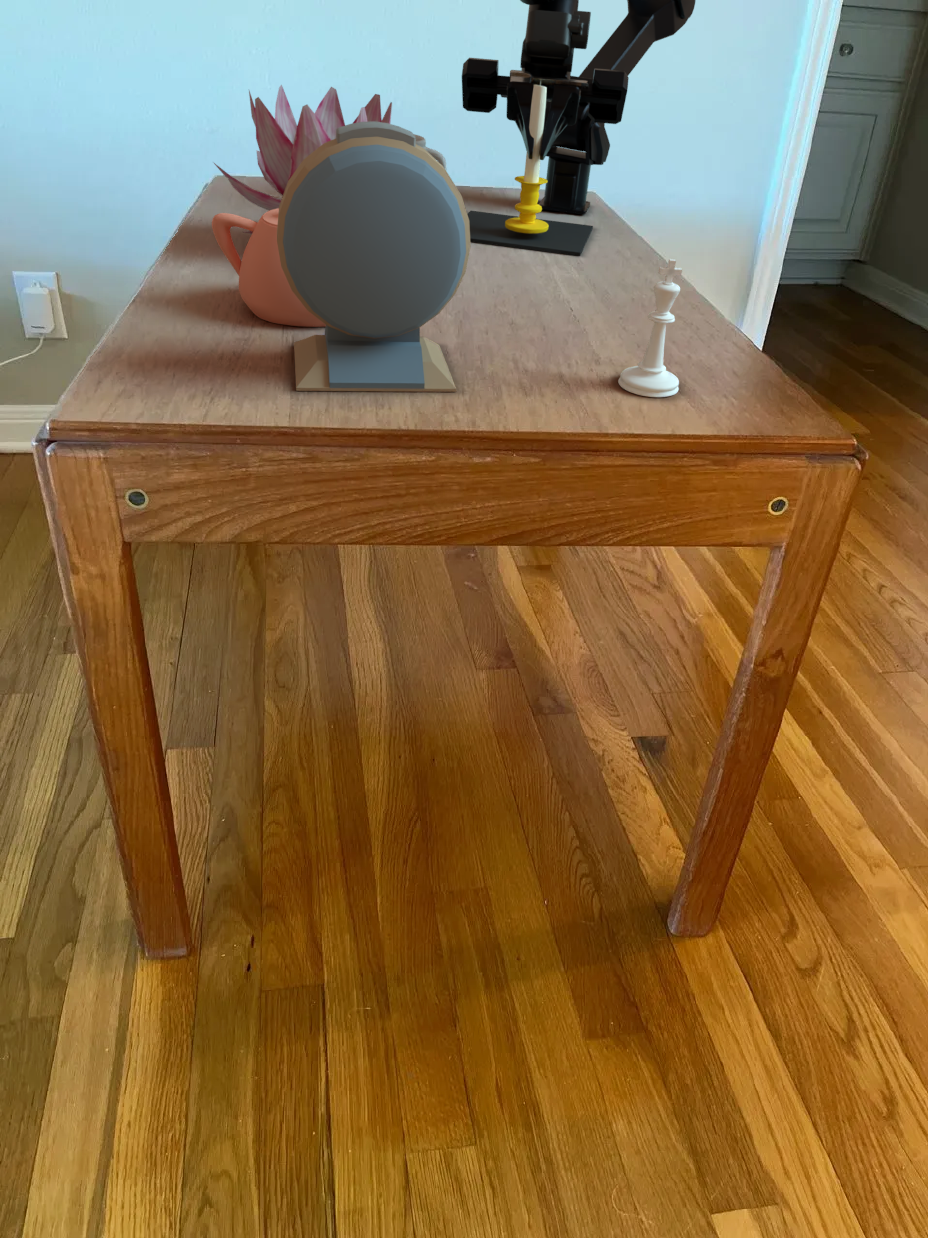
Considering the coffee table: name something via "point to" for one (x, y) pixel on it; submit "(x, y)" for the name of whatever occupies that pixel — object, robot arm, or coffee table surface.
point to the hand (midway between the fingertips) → (536, 157)
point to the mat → (553, 240)
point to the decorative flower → (295, 139)
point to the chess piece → (656, 344)
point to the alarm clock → (372, 259)
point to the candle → (532, 172)
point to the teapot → (262, 270)
